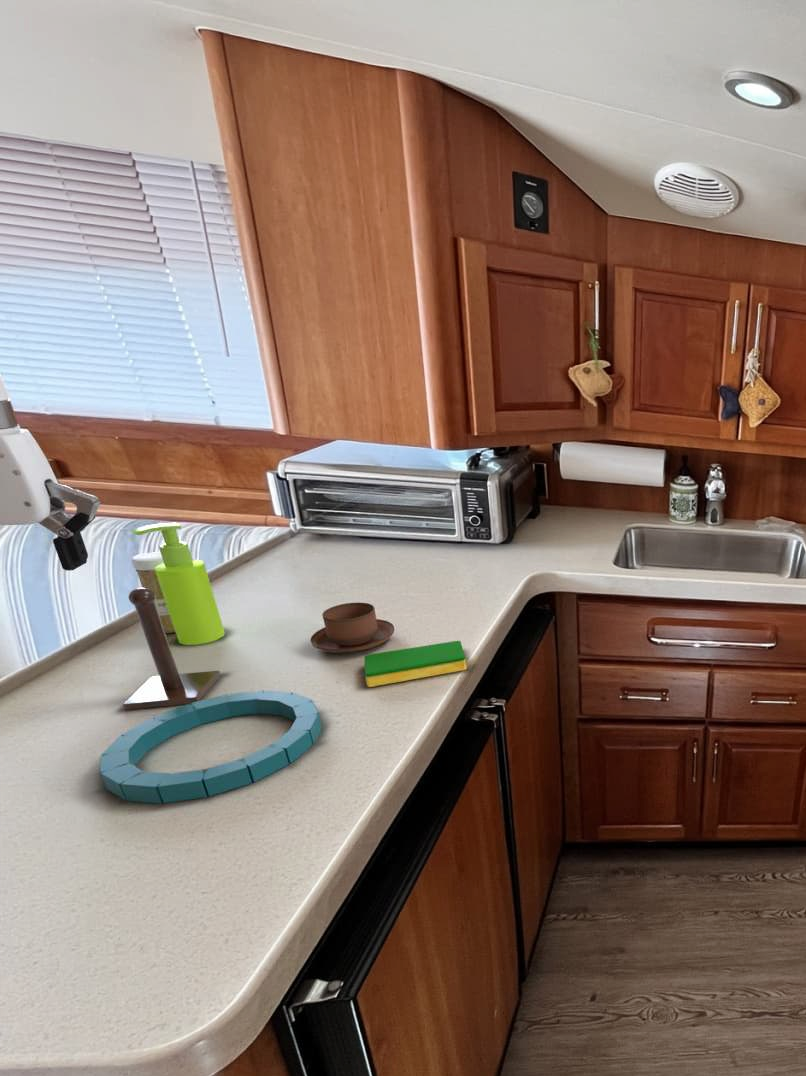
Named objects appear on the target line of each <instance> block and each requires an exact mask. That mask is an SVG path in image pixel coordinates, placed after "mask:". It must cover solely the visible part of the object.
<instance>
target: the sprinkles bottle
mask: <svg viewBox="0 0 806 1076" xmlns="http://www.w3.org/2000/svg"><path fill="white" fill-rule="evenodd" d="M131 562H132V566H133V569H134V570H135V572H137V577H138V579H139V582H140V588H147V589H150V590H152V591H153V592H154V593H155V596H156V599H155V601H154V602H155V605H156V608H157V611H158V614H159V617H160V619H161V622H162V625H163V628H164V631H165V634H173V633H176V632H175V629H174V626H173V623H172V620H171V617H170V614H169V611H168V608H167V605H166V602H165V599H164V596H163V593H162V590H161V587H160V584H159V581H158V578H157V575H156V572H155V567H156V566H158V565H160V564H163V563H164V562H163V559H162V555H161V552H160V551H151V552H144V553H139V554H137V555H136V554H135V555H134V556H132V558H131Z"/></svg>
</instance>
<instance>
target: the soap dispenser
mask: <svg viewBox="0 0 806 1076" xmlns="http://www.w3.org/2000/svg"><path fill="white" fill-rule="evenodd" d="M177 530H182V526H181V524H179V523H178V522H165V523H155V524H149V525H145V526H141V527H138V528H135V529H132V530H131V532H132V533H133V534H134V535H137V536H142V535H144V534H148V533H154V532H161V535H162V538H163V541H164V542H163V543H161V544H159V546H158V548H159V552H161V555H162V559H163V562H164V563H163V564H160V565H158V566H156V567H155V572H156V575H157V578H158V581H159V584H160V587H161V590H162V593H163V596H164V599H165V602H166V605H167V608H168V611H169V614H170V617H171V620H172V623H173V626H174V629H175V632H174V633H175V635H176V638H177V641H178V643H179V644H181V645H184V646H197V645H203V644H208V643H212V642H215V641H217V640H220V639H221V638H223V637H224V636H225V635H226V633H225V628H224V626H223V622H222V619H221V618H222V617H221V614H220V611H219V609H218V605H217V602H216V601H217V600H216V598H215V595H214V592H213V588H212V584H211V582H210V578H209V575H208V571H207V568H206V565H205V562H204V561H203V560H201V559H193V557H192V554H191V550H190V547H189V544H188V543H187V542H185V541H182V540H180V538H179V536H178V531H177Z"/></svg>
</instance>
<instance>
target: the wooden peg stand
mask: <svg viewBox="0 0 806 1076" xmlns="http://www.w3.org/2000/svg"><path fill="white" fill-rule="evenodd" d="M155 599H156V596H155V593H154V592H153V591H152V590H150V589H147V588H142V587H137V588H134V589H132V590H131V591H130V592H129V594H128V601H129V602H130V603H131V604H132V605H133V606H134V609H135V611H136V615H137V617H138V620H139V623H140V626H141V628H142V631H143V634H144V637H145V640H146V642H147V645H148V648H149V651H150V654H151V657H152V661H153V662H154V665H155V668H156V671H157V673H158V675H152V676H150V677H149V678H148V679H147V680H146V681H145V682H144V683H143V684H142V685H141V686H140V687H138V689H137V690H136V691H135V692H134V693H133V694H132V695H131V696H129V698H128V699H126V700H125V701H124V703H122V707H123V709H124V711H132V710H141V709H142V710H143V709H150V708H161V707H162V708H163V707H171V706H183V705H186V704H190V705H191V703H193V702H197V701H201V700H202V699H203V697H204V696H205V695H206V694H207V693H208V691H209V690H210V689H211V688H212V687H213V685H215V683H216V682H217V681H218V680H219V679H220V677H221V673H220V670H210V671H199V672H188V673H187V672H186V673H179V670H178V667H177V664H176V662H175V658H174V655H173V652H172V649H171V647H170V644H169V640H168V638H167V633H165V631H164V628H163V625H162V622H161V619H160V617H159V614H158V611H157V608H156V605H155V602H154V601H155Z"/></svg>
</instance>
